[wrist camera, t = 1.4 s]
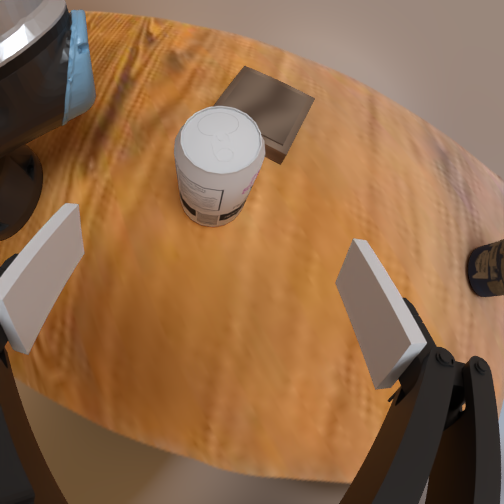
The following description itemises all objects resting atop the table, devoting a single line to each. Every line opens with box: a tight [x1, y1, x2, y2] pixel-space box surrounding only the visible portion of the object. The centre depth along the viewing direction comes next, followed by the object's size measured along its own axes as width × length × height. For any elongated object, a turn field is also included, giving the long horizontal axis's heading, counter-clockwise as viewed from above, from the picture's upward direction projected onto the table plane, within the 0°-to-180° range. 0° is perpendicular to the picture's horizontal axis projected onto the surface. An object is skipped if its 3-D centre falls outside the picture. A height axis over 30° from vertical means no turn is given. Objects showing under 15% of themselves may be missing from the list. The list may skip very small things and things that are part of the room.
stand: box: [213, 66, 315, 164], centre depth 41 cm, size 12×12×3 cm
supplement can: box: [174, 106, 265, 227], centre depth 32 cm, size 8×8×15 cm
